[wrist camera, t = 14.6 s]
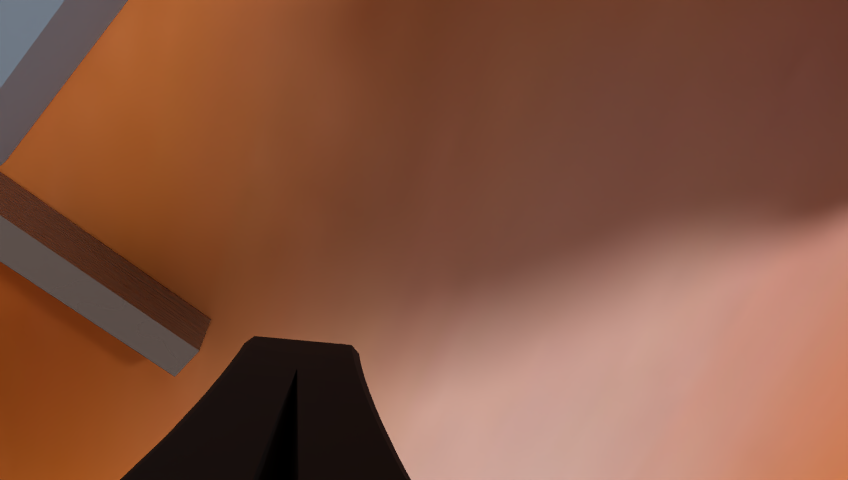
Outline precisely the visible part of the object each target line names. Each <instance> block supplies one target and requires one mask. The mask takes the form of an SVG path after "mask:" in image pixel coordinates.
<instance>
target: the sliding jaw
mask: <svg viewBox="0 0 848 480" xmlns="http://www.w3.org/2000/svg"><path fill="white" fill-rule="evenodd" d="M127 1H128V0H0V166H1V165H2V164H3V163H4V162H5V161H6V160H7V159H8V157H9V156H10V155H11V153H12V152H13V151H14V150H15V148H16V147H17V146H18V144H19V143H20V142H21V140H22V139H23V138H24V136H25V135H26V134H27V132H28V131H29V130H30V128H31V127H32V126H33V124H34V123H35V122H36V121H37V119H38V118H39V117H40V115H41V114H42V113H43V111H44V110H45V109H46V107H47V106H48V105H49V103H50V102H51V101H52V99H53V98H54V97H55V96H56V94H57V93H58V92H59V90H60V89H61V88H62V86H63V85H64V84H65V82H66V81H67V80H68V78H69V77H70V76H71V74H72V73H73V72H74V71H75V69H76V68H77V67H78V65H79V64H80V63H81V61H82V60H83V59H84V57H85V56H86V55H87V53H88V52H89V51H90V49H91V48H92V47H93V46H94V44H95V43H96V42H97V40H98V39H99V38H100V36H101V35H102V34H103V32H104V31H105V30H106V28H107V27H108V26H109V24H110V23H111V22H112V21H113V19H114V18H115V17H116V15H117V14H118V13H119V11H120V10H121V9H122V7H123V6H124V5H125V3H126V2H127Z"/></svg>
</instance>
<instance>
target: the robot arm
mask: <svg viewBox="0 0 848 480" xmlns="http://www.w3.org/2000/svg"><path fill="white" fill-rule="evenodd" d="M120 480H411V479H410V477H409V476H408V474H407V472H406V470H405V468H404V466H403V464H402V462H401V461H400V459H399V457H398V455H397V453H396V451H395V449H394V446H393V444H392V442H391V440H390V438H389V436H388V434H387V432H386V430H385V428H384V426H383V424H382V421H381V419H380V417H379V414H378V412H377V410H376V407H375V405H374V402H373V400H372V397H371V394H370V392H369V389H368V386H367V383H366V380H365V377H364V374H363V371H362V367H361V363H360V357H359V353H358V352H357V351H356V350H355V349H354V347H353V346H352V345H345V344H334V343H323V342H312V341H301V340H290V339H279V338H268V337H257V336H254V337H253V338H251V339H250V340H248V341H247V342H246V343H244V345H243V346H242V348H241V349H240V351H239V352H238V354H237V355H236V356H235V358H234V359H233V360H232V362H231V363H230V364H229V366H228V367H227V368H226V369H225V371H224V372H223V373H222V374H221V376H220V377H219V378H218V379H217V380H216V382H215V383H214V384H213V385H212V386H211V388H210V389H209V390H208V391H207V392H206V393H205V395H204V396H203V397H202V398H201V399H200V400H199V401H198V402H197V403H196V404H195V406H194V407H193V408H192V409H191V410H190V411H189V412H188V413H187V414H186V415H185V416H184V417H183V419H182V420H181V421H180V422H179V423H178V424H177V425H176V426H175V427H174V428H173V429H172V430H171V431H170V432H169V433H168V434H167V435H166V437H165V438H164V439H162V440H161V441H160V442H159V443H158V444H157V445H156V446H155V447H154V448H153V449H152V450H151V451H150V452H149V453H148V454H147V455H146V456H145V457H144V458H143V459H141V460H140V461H139V462H138V463H137V464H136V465H135V466H134V467H133V468H132V469H131V470H130V471H129V472H128V473H127V474H126V475H125V476H124V477H123V478H121V479H120Z"/></svg>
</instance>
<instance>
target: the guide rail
mask: <svg viewBox="0 0 848 480" xmlns="http://www.w3.org/2000/svg"><path fill="white" fill-rule="evenodd" d="M0 262H2V263H3V264H5V265H6V266H8V267H10V268H11V269H13V270H14V271H16V272H17V273H19V274H20V275H22V276H23V277H25V278H26V279H28V280H29V281H31V282H32V283H34V284H35V285H37V286H38V287H40V288H41V289H43V290H44V291H46V292H47V293H49V294H50V295H52V296H53V297H55V298H56V299H58V300H59V301H61V302H62V303H64V304H66V305H67V306H69V307H70V308H72V309H73V310H75V311H76V312H78V313H79V314H81V315H82V316H84V317H85V318H87V319H88V320H90V321H91V322H93V323H94V324H96V325H97V326H99V327H100V328H102V329H103V330H105V331H106V332H108V333H109V334H111V335H112V336H114V337H115V338H117V339H119V340H120V341H122V342H123V343H125V344H126V345H128V346H129V347H131V348H132V349H134V350H135V351H137V352H138V353H140V354H141V355H143V356H144V357H146V358H147V359H149V360H150V361H152V362H153V363H155V364H156V365H158V366H159V367H161V368H162V369H164V370H165V371H167V372H168V373H170V374H172V375H173V376H176V375H177V374H178V373H179V372H180V371H181V370H182V369H183V368H184V366H185V365H186V364H187V363H188V362H189V361H190V360H191V359H192V358H193V357H194V356H195V355H196V354H197V353H198V352H199V350H200V347H201V345H202V342H203V339H204V337H205V334H206V331H207V329H208V326H209V323H210V321H211V319H209V318H208V317H207V316H205V315H204V314H202V313H201V312H199V311H198V310H197V309H195V308H194V307H192V306H191V305H189V304H188V303H187V302H185V301H184V300H182V299H181V298H179V297H178V296H177V295H175V294H174V293H172V292H171V291H169V290H168V289H167V288H165V287H164V286H162V285H161V284H159V283H158V282H157V281H155V280H154V279H152V278H151V277H149V276H148V275H147V274H145V273H144V272H142V271H141V270H139V269H138V268H137V267H135V266H134V265H132V264H131V263H129V262H128V261H127V260H125V259H124V258H122V257H121V256H119V255H118V254H117V253H115V252H114V251H112V250H111V249H109V248H108V247H107V246H105V245H104V244H102V243H101V242H99V241H98V240H97V239H95V238H94V237H92V236H91V235H89V234H88V233H87V232H85V231H84V230H82V229H81V228H79V227H78V226H77V225H75V224H74V223H72V222H71V221H69V220H68V219H67V218H65V217H64V216H62V215H61V214H59V213H58V212H57V211H55V210H54V209H52V208H51V207H49V206H48V205H47V204H45V203H44V202H42V201H41V200H39V199H38V198H37V197H35V196H34V195H32V194H31V193H29V192H28V191H27V190H25V189H24V188H22V187H21V186H19V185H18V184H17V183H15V182H14V181H12V180H11V179H9V178H8V177H7V176H5V175H4V174H2V173H1V172H0Z"/></svg>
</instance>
